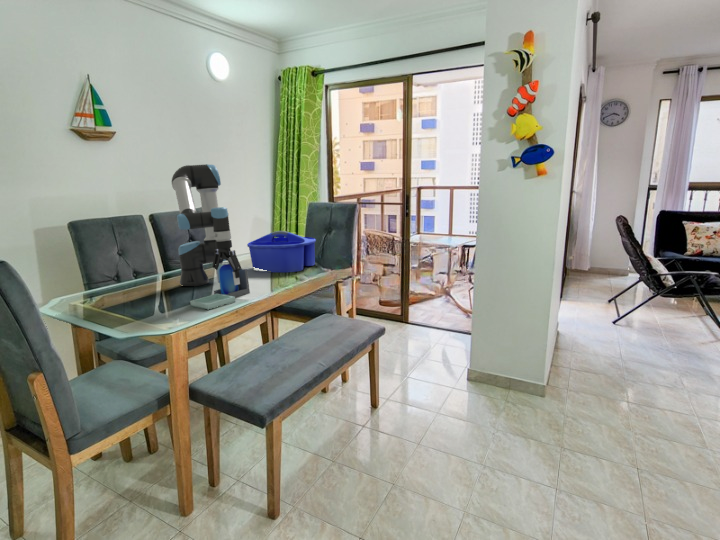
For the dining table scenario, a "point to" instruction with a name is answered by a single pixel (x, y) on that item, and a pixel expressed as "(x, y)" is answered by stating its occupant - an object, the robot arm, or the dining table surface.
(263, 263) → the caddy
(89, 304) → the dining table surface
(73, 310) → the dining table surface
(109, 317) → the dining table surface
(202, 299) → the tray
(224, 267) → the beer can
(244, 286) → the bay
